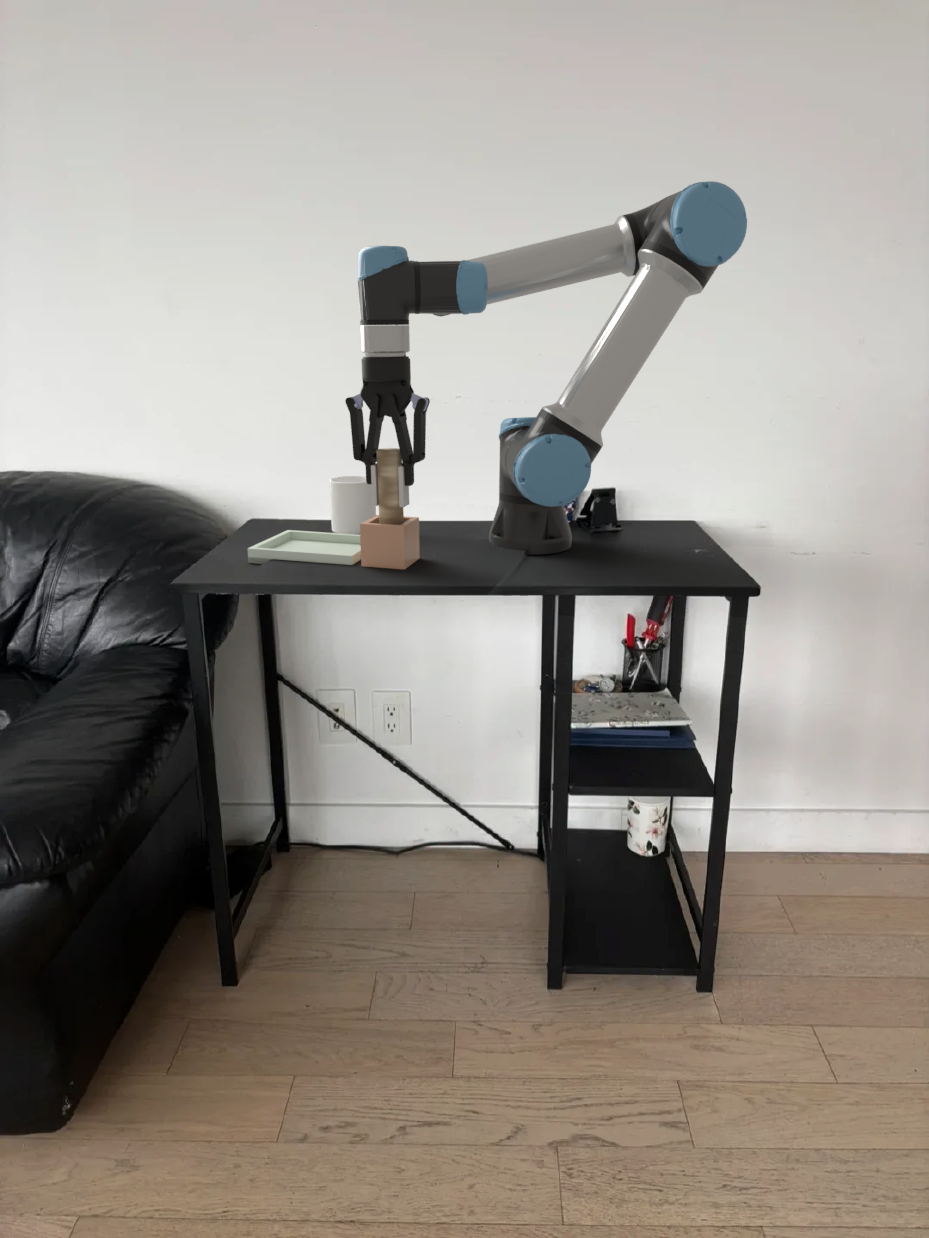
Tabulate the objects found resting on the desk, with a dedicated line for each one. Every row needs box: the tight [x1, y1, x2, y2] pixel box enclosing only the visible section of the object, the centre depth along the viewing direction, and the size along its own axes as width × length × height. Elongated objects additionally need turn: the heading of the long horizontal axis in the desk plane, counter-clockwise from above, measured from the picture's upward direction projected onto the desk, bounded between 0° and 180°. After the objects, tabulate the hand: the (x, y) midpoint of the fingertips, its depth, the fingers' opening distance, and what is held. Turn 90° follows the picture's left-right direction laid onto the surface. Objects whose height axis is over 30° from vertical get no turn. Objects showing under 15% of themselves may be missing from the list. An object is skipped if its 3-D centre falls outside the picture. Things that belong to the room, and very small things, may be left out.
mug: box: [329, 475, 377, 535], centre depth 168 cm, size 9×12×11 cm
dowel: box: [376, 447, 405, 525], centre depth 142 cm, size 4×4×17 cm
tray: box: [246, 529, 361, 566], centre depth 153 cm, size 19×15×2 cm
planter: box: [359, 514, 421, 570], centre depth 145 cm, size 8×8×8 cm
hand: (390, 504), depth 143 cm, fingers closed on dowel, 4 cm apart
